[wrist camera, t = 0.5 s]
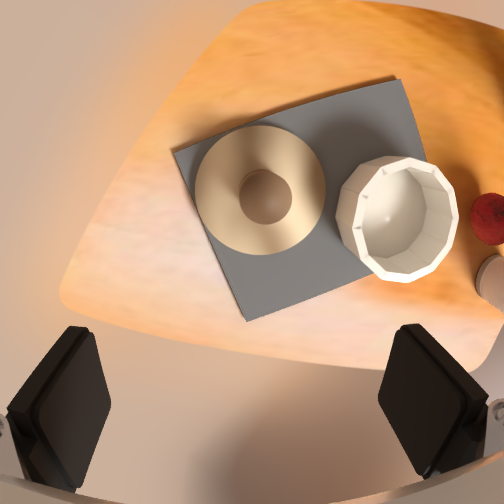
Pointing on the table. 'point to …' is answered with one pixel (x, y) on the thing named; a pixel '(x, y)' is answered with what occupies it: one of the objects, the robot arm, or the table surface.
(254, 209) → the lid
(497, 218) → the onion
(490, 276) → the travel mug
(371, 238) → the bowl
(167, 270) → the table surface
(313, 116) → the mat
